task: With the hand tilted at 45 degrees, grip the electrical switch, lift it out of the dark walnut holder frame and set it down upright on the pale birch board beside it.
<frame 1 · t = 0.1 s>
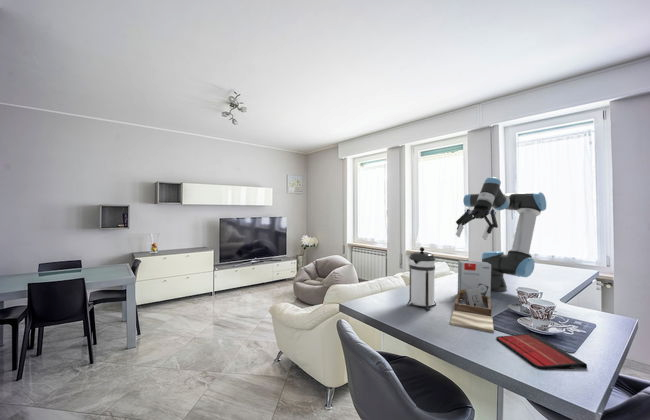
hand: (470, 237, 136), 36 cm above the breakfast bar, tool tilted 35°, fingers open, 13 cm apart
electrical switch: (472, 307, 139), on the breakfast bar
hard drive box: (473, 297, 154), on the breakfast bar
coffee press: (422, 305, 141), on the breakfast bar
birch board: (471, 321, 120), on the breakfast bar
binder: (535, 353, 95), on the breakfast bar
holder frame: (472, 306, 139), on the breakfast bar
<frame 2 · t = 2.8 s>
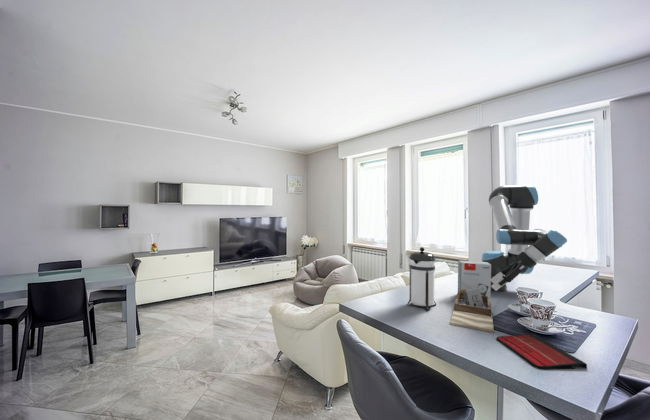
hand: (492, 285, 134), 13 cm above the breakfast bar, tool tilted 45°, fingers open, 13 cm apart
nothing on the breakfast bar moved.
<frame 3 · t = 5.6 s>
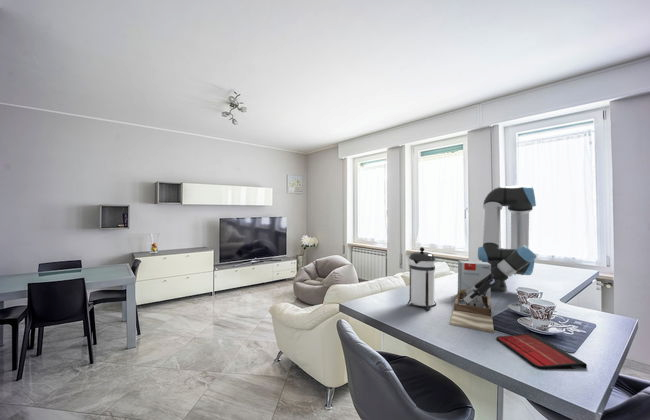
hand: (465, 298, 140), 4 cm above the breakfast bar, tool tilted 45°, fingers closed on electrical switch, 9 cm apart
electrical switch: (472, 307, 139), on the breakfast bar, touching gripper
everything else where it was.
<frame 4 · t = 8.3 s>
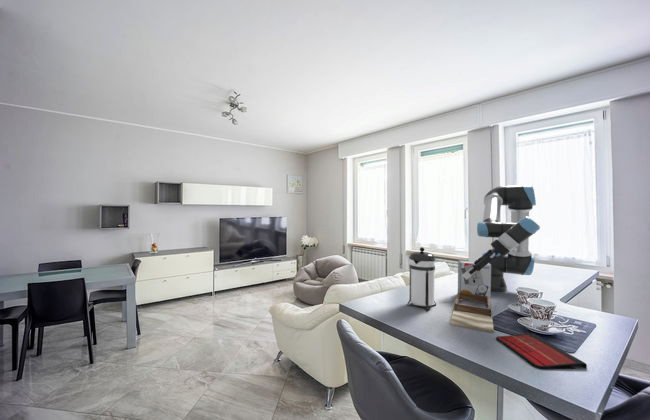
hand: (464, 275, 132), 18 cm above the breakfast bar, tool tilted 45°, fingers closed on electrical switch, 9 cm apart
electrical switch: (472, 284, 131), point 14 cm above the breakfast bar, touching gripper
everything else where it was.
when the fingers open (6 cm above the breakfast bar, at t = 11.3 s): electrical switch drops 1 cm, resting on birch board.
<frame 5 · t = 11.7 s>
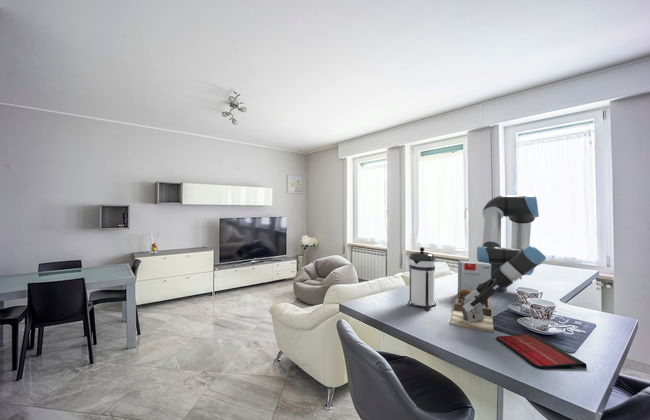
hand: (465, 304, 122), 7 cm above the breakfast bar, tool tilted 45°, fingers open, 13 cm apart
electrical switch: (471, 319, 121), point 1 cm above the breakfast bar, touching birch board
everything else where it was.
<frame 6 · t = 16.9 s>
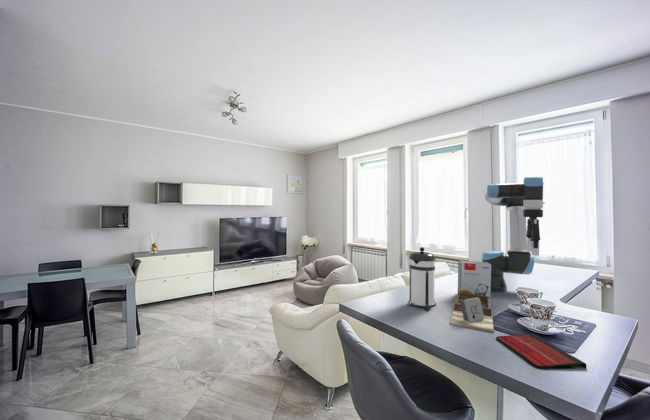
hand: (532, 253, 131), 29 cm above the breakfast bar, tool pointing down, fingers open, 13 cm apart
nothing on the breakfast bar moved.
at the end: electrical switch inside the target area on the birch board (0.1 cm from its centre), point 0.8 cm above the birch board's base; electrical switch tilted 0°; the gripper is holding nothing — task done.
